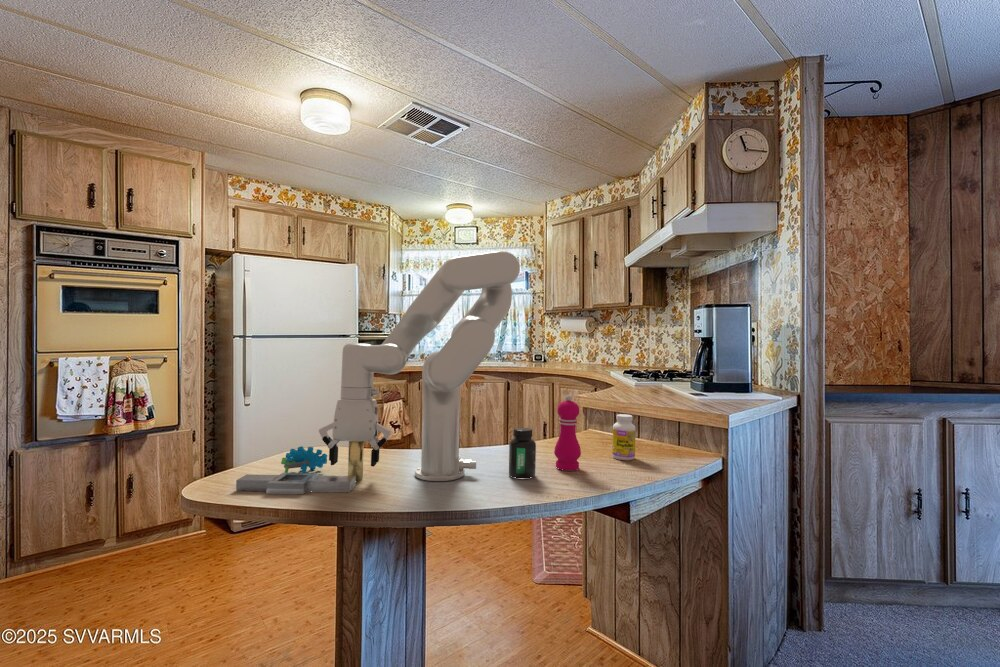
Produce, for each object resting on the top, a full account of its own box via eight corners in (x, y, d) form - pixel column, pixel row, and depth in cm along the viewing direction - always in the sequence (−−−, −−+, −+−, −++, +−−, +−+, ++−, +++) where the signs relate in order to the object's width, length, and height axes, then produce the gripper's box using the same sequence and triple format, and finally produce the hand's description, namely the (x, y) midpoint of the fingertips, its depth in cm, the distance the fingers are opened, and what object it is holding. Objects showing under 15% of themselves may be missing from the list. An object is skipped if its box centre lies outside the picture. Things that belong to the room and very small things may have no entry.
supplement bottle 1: (524, 481, 115) (525, 432, 116) (503, 475, 120) (504, 428, 120) (540, 476, 120) (541, 429, 121) (519, 470, 125) (520, 425, 125)
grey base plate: (357, 483, 111) (357, 473, 111) (347, 495, 103) (347, 484, 103) (250, 482, 110) (250, 472, 110) (231, 493, 102) (231, 482, 102)
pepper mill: (584, 467, 130) (586, 394, 130) (574, 473, 123) (575, 397, 124) (560, 463, 133) (562, 392, 134) (549, 468, 127) (550, 395, 128)
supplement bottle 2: (612, 460, 138) (613, 416, 138) (611, 454, 145) (612, 413, 145) (636, 461, 137) (637, 417, 137) (633, 456, 144) (634, 414, 144)
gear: (333, 462, 123) (320, 441, 116) (329, 483, 119) (316, 463, 112) (291, 467, 123) (275, 447, 116) (286, 488, 119) (269, 468, 112)
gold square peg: (364, 477, 116) (365, 437, 116) (360, 481, 112) (361, 439, 113) (350, 477, 116) (351, 436, 116) (345, 481, 112) (346, 439, 113)
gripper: (395, 393, 118) (392, 461, 118) (326, 391, 118) (323, 459, 118) (389, 397, 111) (386, 469, 111) (315, 394, 111) (312, 467, 110)
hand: (353, 464), depth 114 cm, fingers open, 9 cm apart
